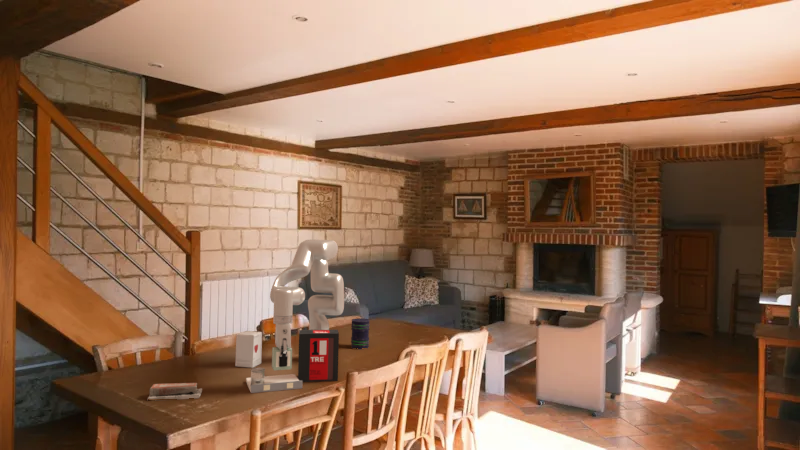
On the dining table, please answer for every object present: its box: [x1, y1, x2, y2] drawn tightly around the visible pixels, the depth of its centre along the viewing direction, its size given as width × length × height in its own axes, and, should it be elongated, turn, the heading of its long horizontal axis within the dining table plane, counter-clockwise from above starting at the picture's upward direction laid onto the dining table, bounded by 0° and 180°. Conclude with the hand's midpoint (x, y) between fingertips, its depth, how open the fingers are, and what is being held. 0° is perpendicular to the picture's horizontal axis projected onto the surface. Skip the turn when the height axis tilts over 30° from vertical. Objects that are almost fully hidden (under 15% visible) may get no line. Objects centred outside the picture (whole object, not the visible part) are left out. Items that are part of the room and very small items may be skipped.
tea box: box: [271, 346, 293, 371], centre depth 215 cm, size 7×6×8 cm
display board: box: [245, 373, 304, 394], centre depth 217 cm, size 20×17×3 cm
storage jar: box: [350, 317, 370, 350], centre depth 290 cm, size 10×10×15 cm
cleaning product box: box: [297, 329, 340, 383], centre depth 227 cm, size 16×9×20 cm, turn 100°
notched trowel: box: [147, 382, 203, 400], centre depth 200 cm, size 18×5×10 cm
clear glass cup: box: [250, 367, 266, 385], centre depth 210 cm, size 5×5×6 cm
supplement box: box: [234, 330, 263, 369], centre depth 247 cm, size 9×9×15 cm
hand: (281, 364), depth 214 cm, fingers closed on tea box, 5 cm apart
